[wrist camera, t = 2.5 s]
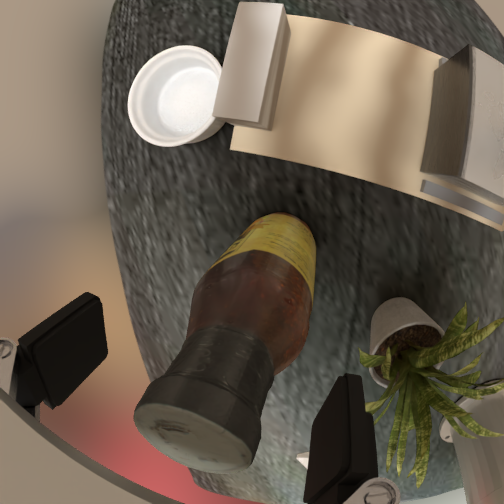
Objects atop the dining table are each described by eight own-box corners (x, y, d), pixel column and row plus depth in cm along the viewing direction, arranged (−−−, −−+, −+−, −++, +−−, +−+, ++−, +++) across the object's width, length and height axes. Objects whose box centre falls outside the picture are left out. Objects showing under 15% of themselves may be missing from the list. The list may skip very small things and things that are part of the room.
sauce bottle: (253, 203, 25) (80, 316, 6) (324, 219, 24) (331, 402, 5) (241, 271, 27) (114, 444, 8) (306, 288, 26) (265, 500, 7)
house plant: (461, 356, 24) (510, 465, 9) (352, 393, 28) (351, 519, 13) (453, 241, 21) (565, 333, 6) (318, 288, 25) (306, 437, 10)
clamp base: (511, 105, 15) (551, 97, 9) (492, 227, 20) (533, 247, 13) (264, 21, 19) (245, -18, 13) (236, 150, 23) (206, 146, 17)
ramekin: (217, 44, 21) (198, 27, 17) (256, 120, 22) (243, 111, 18) (142, 92, 24) (116, 84, 20) (173, 165, 25) (148, 166, 21)
